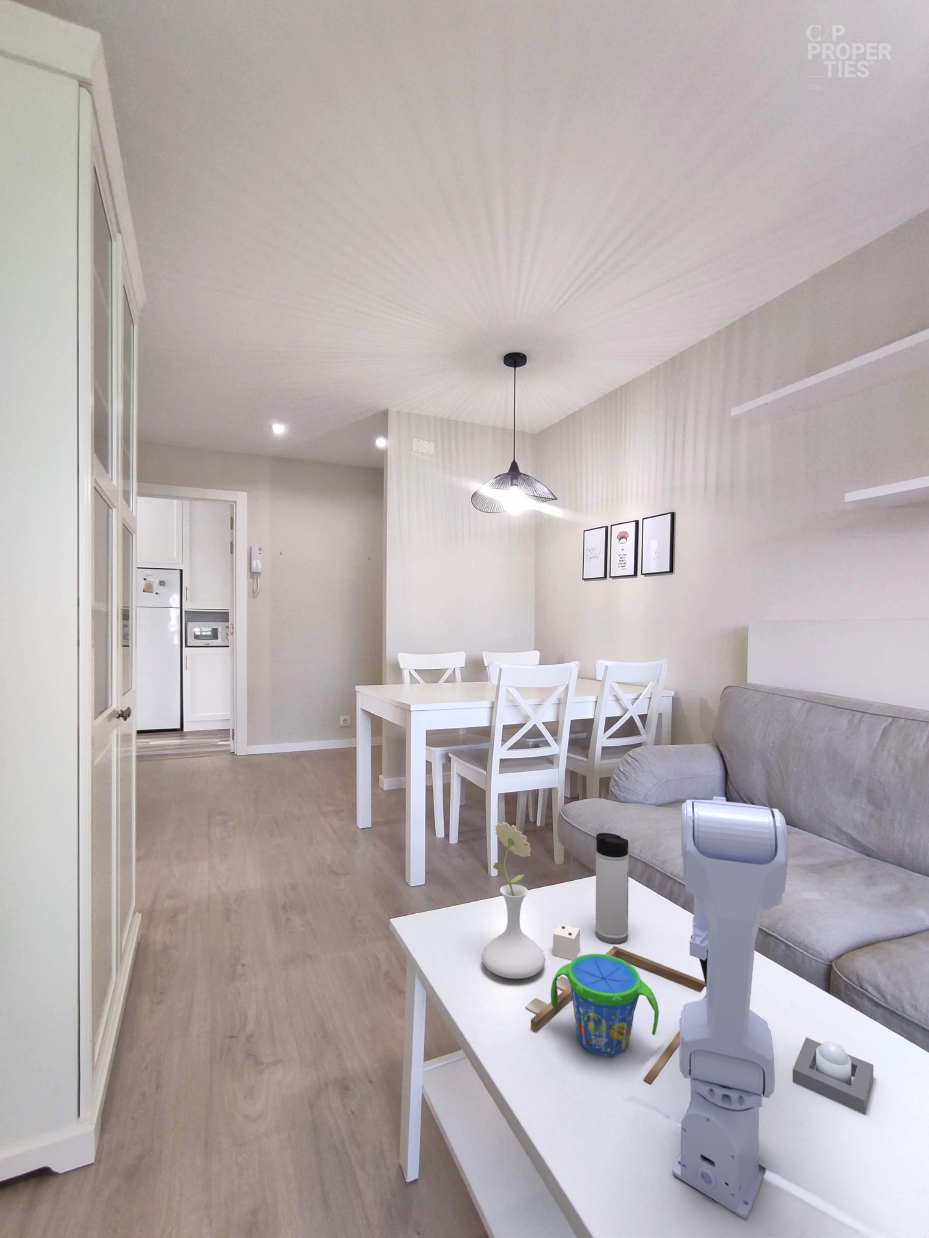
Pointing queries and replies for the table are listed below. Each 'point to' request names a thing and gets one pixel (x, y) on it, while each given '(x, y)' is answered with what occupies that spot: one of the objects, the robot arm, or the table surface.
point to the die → (566, 942)
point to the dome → (833, 1062)
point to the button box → (831, 1087)
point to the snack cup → (604, 1001)
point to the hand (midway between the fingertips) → (715, 988)
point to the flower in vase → (513, 920)
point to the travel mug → (611, 888)
